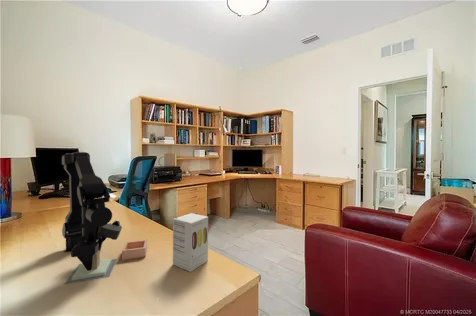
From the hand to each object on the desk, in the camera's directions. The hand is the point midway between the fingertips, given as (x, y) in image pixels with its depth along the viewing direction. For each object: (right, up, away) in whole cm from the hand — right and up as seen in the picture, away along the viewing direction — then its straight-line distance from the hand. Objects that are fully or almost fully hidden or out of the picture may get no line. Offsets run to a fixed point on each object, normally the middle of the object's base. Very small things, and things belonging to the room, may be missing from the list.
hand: (93, 264), depth 72 cm
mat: (0, -2, 0) cm, 2 cm away
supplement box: (+32, -3, +6) cm, 32 cm away
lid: (0, -2, 0) cm, 2 cm away
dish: (+9, -2, +12) cm, 15 cm away
